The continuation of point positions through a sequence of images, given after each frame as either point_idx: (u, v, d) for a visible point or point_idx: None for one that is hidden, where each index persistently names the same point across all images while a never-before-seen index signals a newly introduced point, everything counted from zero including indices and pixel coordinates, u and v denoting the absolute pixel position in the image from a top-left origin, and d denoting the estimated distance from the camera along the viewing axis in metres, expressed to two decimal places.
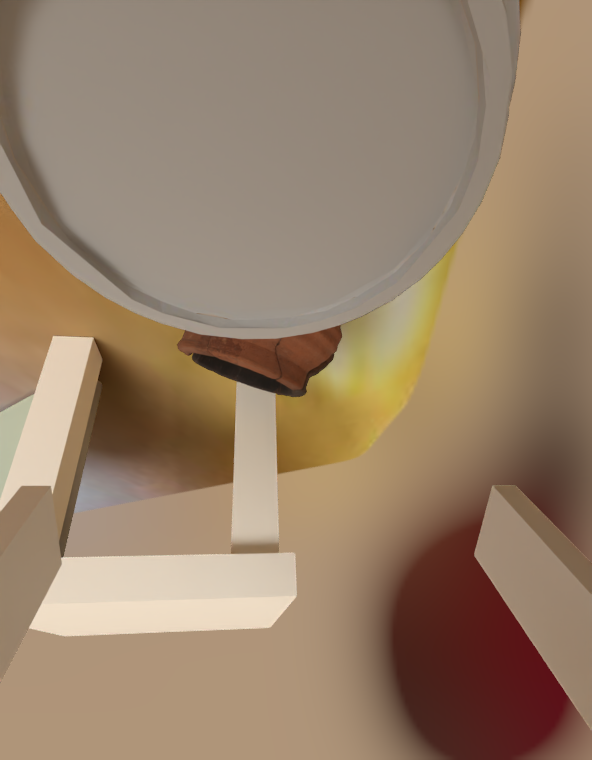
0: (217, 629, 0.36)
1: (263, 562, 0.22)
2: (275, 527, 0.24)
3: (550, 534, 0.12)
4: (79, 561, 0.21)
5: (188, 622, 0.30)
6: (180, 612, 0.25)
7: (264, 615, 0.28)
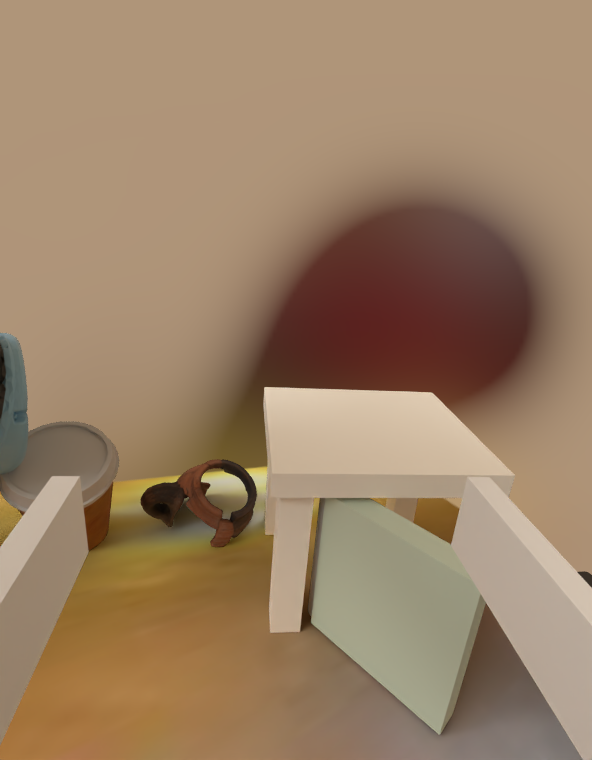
0: (444, 409, 0.44)
1: (264, 407, 0.45)
2: None
3: (519, 523, 0.12)
4: (267, 454, 0.36)
5: (384, 415, 0.41)
6: (323, 413, 0.41)
7: (346, 393, 0.46)
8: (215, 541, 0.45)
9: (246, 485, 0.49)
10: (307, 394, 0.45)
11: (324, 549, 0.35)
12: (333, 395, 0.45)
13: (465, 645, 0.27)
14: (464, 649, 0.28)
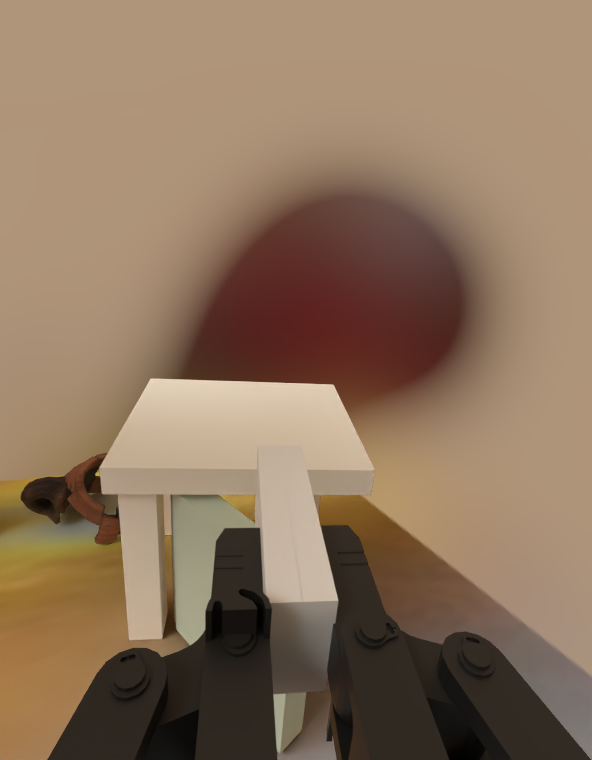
0: (337, 401, 0.41)
1: None
2: None
3: (297, 483, 0.13)
4: None
5: (266, 407, 0.39)
6: (198, 405, 0.38)
7: (238, 385, 0.43)
8: (99, 537, 0.43)
9: None
10: (193, 386, 0.42)
11: (177, 550, 0.32)
12: (222, 387, 0.42)
13: None
14: None
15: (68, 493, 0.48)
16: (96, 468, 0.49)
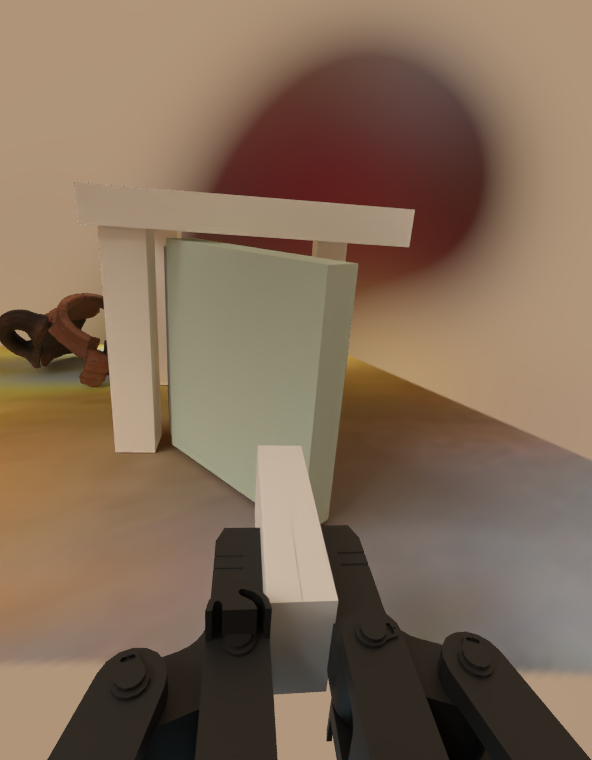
0: None
1: None
2: None
3: (297, 483, 0.13)
4: None
5: None
6: None
7: None
8: (85, 375, 0.38)
9: None
10: None
11: (172, 326, 0.27)
12: None
13: (318, 377, 0.19)
14: (317, 385, 0.19)
15: (50, 343, 0.42)
16: (82, 320, 0.44)
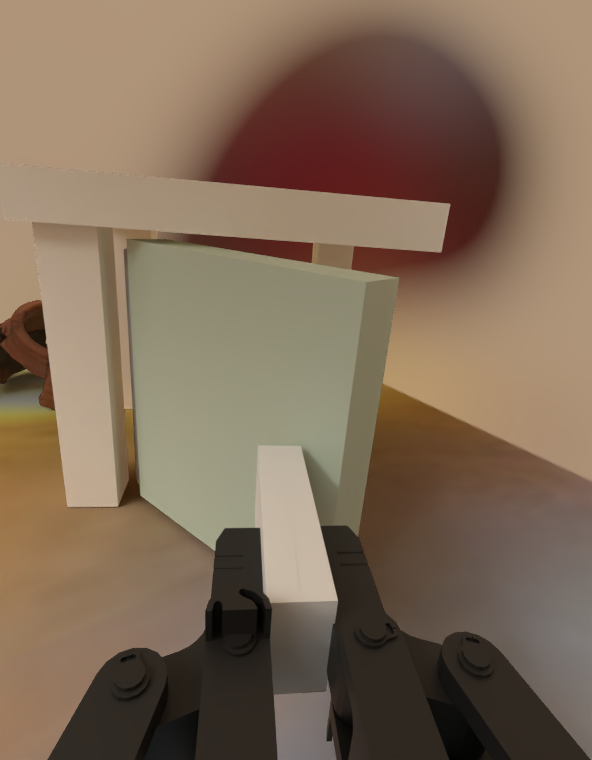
0: None
1: None
2: None
3: (297, 483, 0.13)
4: None
5: None
6: None
7: None
8: (45, 396, 0.32)
9: None
10: None
11: (138, 352, 0.21)
12: None
13: (346, 433, 0.14)
14: (345, 443, 0.14)
15: (8, 357, 0.37)
16: None
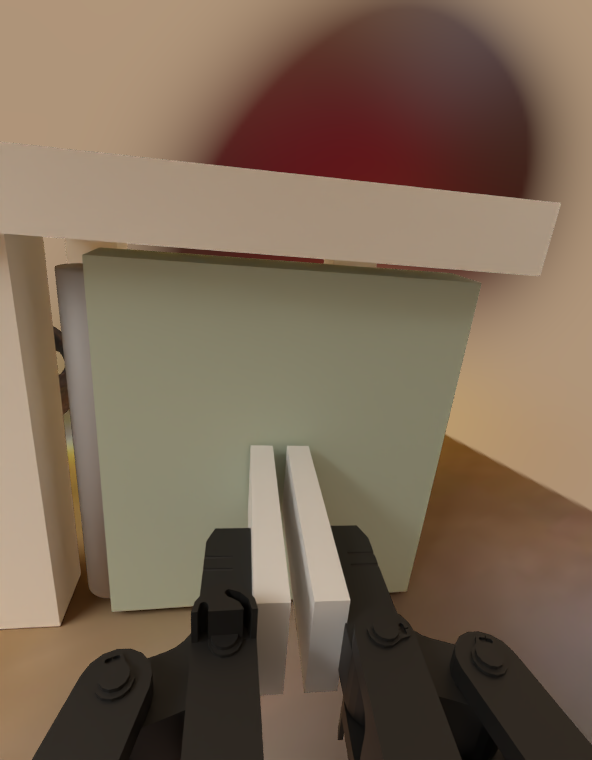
0: None
1: None
2: None
3: (306, 483, 0.13)
4: None
5: None
6: None
7: None
8: None
9: None
10: None
11: (112, 419, 0.14)
12: None
13: (447, 415, 0.16)
14: (445, 423, 0.16)
15: None
16: None
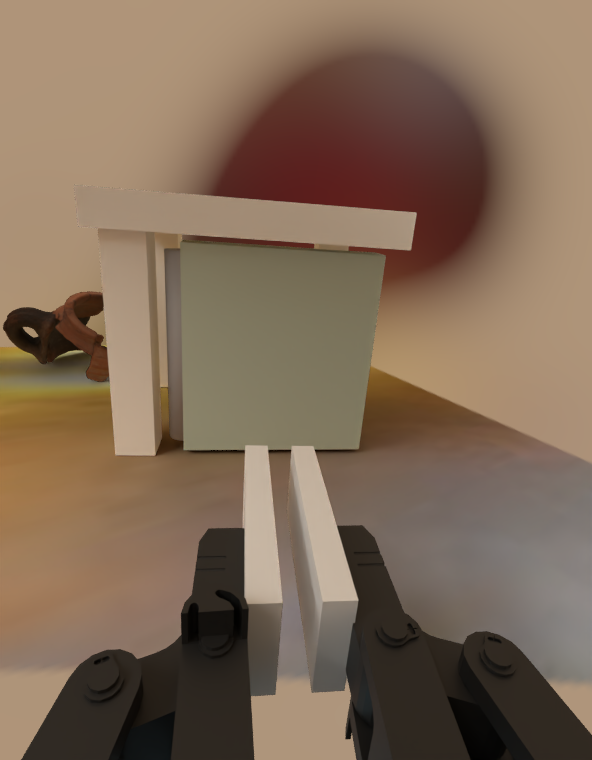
0: None
1: None
2: None
3: (311, 483, 0.13)
4: None
5: None
6: None
7: None
8: (91, 370, 0.39)
9: None
10: None
11: (189, 329, 0.27)
12: None
13: (374, 332, 0.28)
14: (373, 338, 0.28)
15: (56, 340, 0.44)
16: (86, 318, 0.45)
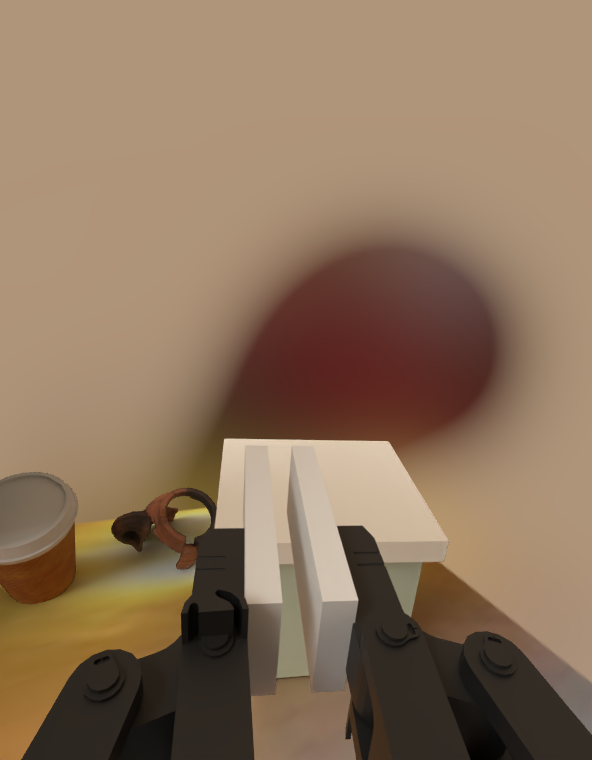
0: (396, 461, 0.45)
1: None
2: None
3: (311, 483, 0.13)
4: None
5: (336, 470, 0.43)
6: (276, 469, 0.42)
7: (303, 444, 0.47)
8: (180, 563, 0.50)
9: (209, 511, 0.54)
10: None
11: None
12: (290, 447, 0.46)
13: (414, 597, 0.38)
14: (413, 600, 0.38)
15: None
16: None
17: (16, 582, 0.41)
